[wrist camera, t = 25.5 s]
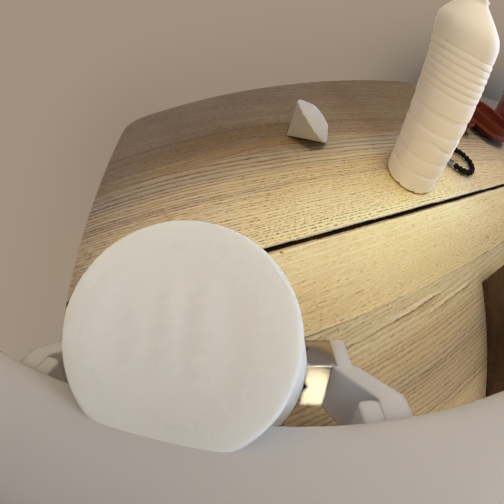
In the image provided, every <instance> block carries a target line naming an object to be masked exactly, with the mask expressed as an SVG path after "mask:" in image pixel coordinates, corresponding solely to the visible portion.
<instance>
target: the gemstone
mask: <svg viewBox="0 0 504 504" xmlns="http://www.w3.org/2000/svg"><path fill="white" fill-rule="evenodd" d="M287 136H292V137H298V138H303V139H308V140H313V141H318V142H323V143H326V142H327V136H328V125H327V122H326V120H325V119H324V117H323V115H322V114H321V112H320V111H319V110H318V108H317V107H316V106H314V105H312V104H310V103H308V102H306V101H303V100H298V101H297V104H296V107H295V110H294V113H293V117H292V120H291V123H290V126H289V130H288V133H287Z"/></svg>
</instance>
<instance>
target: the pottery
mask: <svg viewBox="0 0 504 504" xmlns="http://www.w3.org/2000/svg"><path fill="white" fill-rule="evenodd" d="M473 126H474V127H475V128H476V129H477V130H478V131H479V132H480V133H481V134H483V135H484V136H486V137H488V138H491V139H492V138H495V139H497V140H499V141H501V142H504V120H503V119H502V118H501V117H500V116H499V115H498V114H497V113H496V112H495V111H494V110H493V109H491V108H490V107H489V106H487V105H486V104H484V103H483V102H481V101H479V102H478V104H477V105H476V109H475V111H474V114H473V116H472V118H471V120H470V122H469V123H468V124H467V128H471V127H473ZM467 128H466V129H467Z"/></svg>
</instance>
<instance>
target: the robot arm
mask: <svg viewBox="0 0 504 504" xmlns="http://www.w3.org/2000/svg"><path fill="white" fill-rule="evenodd" d="M305 346H306V355H307V366H306V376H305V381H304V385H303V389H302V391H301V394H300V397H299V399H298V404H299V405H311V406H322V407H323V408H324V409H325V410H326V411H327V412H328V413H329V414H330V415H331V417H332V418H333V419H334V420H335V421H336V422H337V423H338V424H339V425H340V426H320V427H281V426H270V427H269V428H268V429H267V430H266V431H265V432H264V433H262V434H261V435H260V436H259V437H258V438H257V439H255V440H254V441H252V442H251V443H250V444H248V445H246V446H245V447H243V448H241V449H239V450H236V451H233V452H224V453H222V452H214V451H208V450H202V449H196V448H191V447H186V446H181V445H177V444H172V443H168V442H163V441H159V440H155V439H151V438H148V437H144V436H140V435H136V434H133V433H129V432H126V431H122V430H119V429H116V428H113V427H110V426H106V425H103V424H100V423H97V422H95V421H93V420H91V419H89V418H88V417H87V416H86V415H85V414H84V412H83V411H82V409H81V408H80V406H79V405H78V403H77V401H76V399H75V397H74V395H73V393H72V391H71V389H70V386H69V383H68V380H67V376H66V372H65V368H64V363H63V355H62V341H60V342H57V343H54V344H51V345H47V346H44V347H40V348H37V349H34V350H33V351H32V352H30V353H29V354H28V355H27V356H26V357H25V358H23V359H22V360H21V361H20V362H19V361H17V360H16V359H14V358H12V357H10V356H8V355H6V354H4V353H3V352H1V351H0V504H504V391H501V392H499V393H496V394H493V395H490V396H488V397H485V398H482V399H479V400H476V401H473V402H469V403H466V404H463V405H459V406H456V407H452V408H448V409H444V410H440V411H436V412H432V413H427V414H423V415H418V416H413V413H412V411H411V409H410V407H409V405H408V403H407V401H406V399H405V397H404V395H402V394H400V393H399V392H397V391H396V390H394V389H392V388H391V387H389V386H388V385H386V384H384V383H383V382H381V381H380V380H378V379H376V378H375V377H373V376H372V375H370V374H369V373H367V372H366V371H364V370H362V369H361V368H359V367H358V366H353V365H352V363H351V360H350V357H349V354H348V352H347V349H346V347H345V344H344V341H343V340H321V341H305Z"/></svg>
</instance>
